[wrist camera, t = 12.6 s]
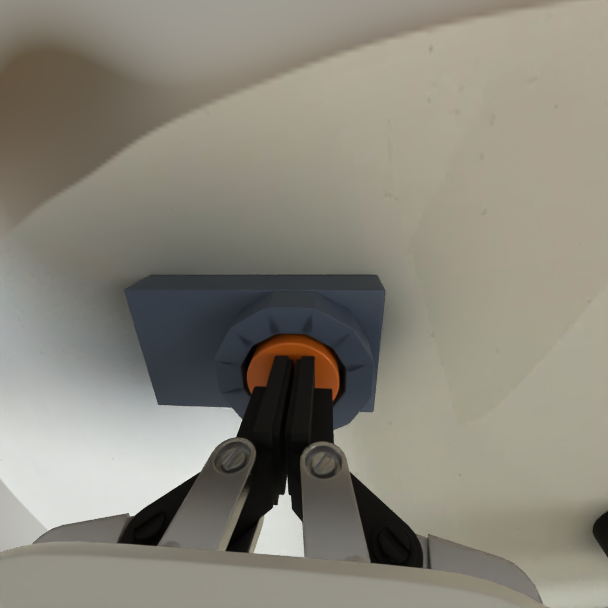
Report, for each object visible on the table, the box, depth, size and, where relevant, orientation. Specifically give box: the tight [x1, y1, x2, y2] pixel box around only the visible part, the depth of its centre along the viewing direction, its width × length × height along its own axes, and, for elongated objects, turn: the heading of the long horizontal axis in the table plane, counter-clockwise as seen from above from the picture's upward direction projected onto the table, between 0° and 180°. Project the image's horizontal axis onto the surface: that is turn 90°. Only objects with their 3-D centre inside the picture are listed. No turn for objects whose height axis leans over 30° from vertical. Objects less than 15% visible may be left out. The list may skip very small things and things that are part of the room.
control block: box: [124, 275, 385, 430], centre depth 14 cm, size 12×7×4 cm, turn 91°
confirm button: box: [247, 334, 339, 400], centre depth 13 cm, size 4×4×2 cm
